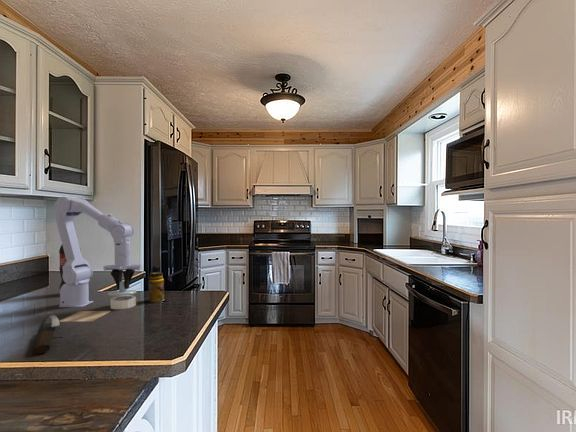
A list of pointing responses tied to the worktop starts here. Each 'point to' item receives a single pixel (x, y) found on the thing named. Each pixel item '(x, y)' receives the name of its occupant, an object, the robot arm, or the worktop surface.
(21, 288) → the worktop surface
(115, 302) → the bowl
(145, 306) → the worktop surface
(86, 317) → the mat
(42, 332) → the kitchen knife
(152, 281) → the condiment
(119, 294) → the lid
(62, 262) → the cola bottle
